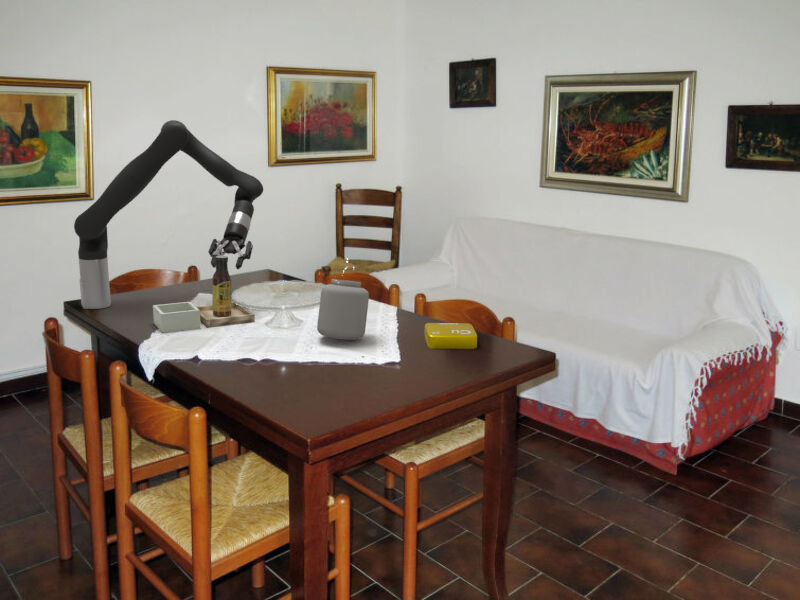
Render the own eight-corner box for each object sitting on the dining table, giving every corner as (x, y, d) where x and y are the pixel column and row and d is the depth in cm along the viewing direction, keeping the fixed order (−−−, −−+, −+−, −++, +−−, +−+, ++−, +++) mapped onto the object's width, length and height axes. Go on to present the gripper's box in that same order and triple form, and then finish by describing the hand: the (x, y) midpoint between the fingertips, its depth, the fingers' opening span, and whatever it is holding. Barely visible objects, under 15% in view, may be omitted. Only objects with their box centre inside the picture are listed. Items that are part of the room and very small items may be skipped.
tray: (206, 327, 245) (206, 320, 244) (192, 314, 260) (191, 307, 259) (254, 321, 252) (254, 314, 252) (237, 309, 267) (237, 302, 267)
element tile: (470, 336, 244) (471, 321, 243) (477, 350, 230) (478, 335, 228) (423, 335, 243) (424, 321, 242) (428, 350, 229) (428, 334, 228)
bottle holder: (162, 332, 238) (161, 314, 236) (153, 323, 248) (152, 305, 246) (200, 328, 244) (199, 310, 242) (190, 319, 254) (190, 301, 252)
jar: (338, 327, 248) (339, 251, 242) (379, 333, 242) (380, 256, 236) (308, 342, 232) (307, 261, 226) (350, 349, 226) (351, 267, 220)
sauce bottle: (221, 318, 252) (218, 259, 247) (208, 315, 255) (206, 256, 250) (236, 314, 257) (234, 256, 252) (224, 311, 260) (222, 254, 255)
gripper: (214, 220, 261) (201, 259, 253) (254, 222, 259) (242, 262, 250) (221, 233, 268) (209, 272, 259) (260, 235, 265) (248, 274, 257)
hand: (225, 267), depth 255 cm, fingers open, 8 cm apart
